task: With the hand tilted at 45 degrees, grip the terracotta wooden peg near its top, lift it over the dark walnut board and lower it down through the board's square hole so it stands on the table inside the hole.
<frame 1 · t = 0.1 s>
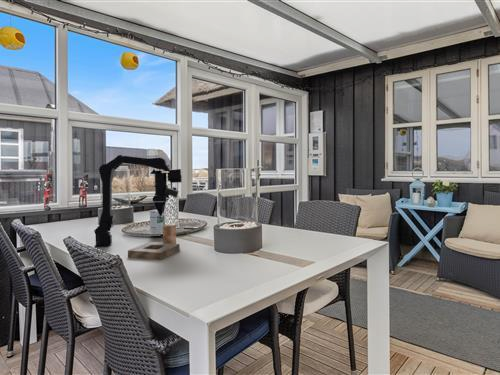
hand: (161, 214, 171), 15 cm above the table, tool pointing down, fingers open, 9 cm apart
walnut hole board: (154, 253, 151), on the table
syrup box: (157, 236, 189), on the table
terracotta peg: (169, 245, 166), on the table
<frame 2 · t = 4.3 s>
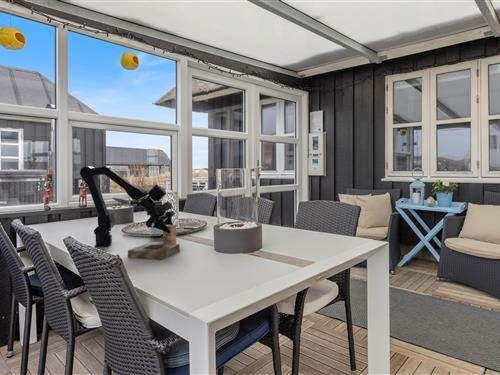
hand: (172, 231, 165), 7 cm above the table, tool tilted 45°, fingers closed on terracotta peg, 5 cm apart
terracotta peg: (169, 245, 166), on the table, touching gripper
everything else where it was.
when the fingers open (8 cm above the table, at t = 9.5 s): terracotta peg stays where it is, resting in walnut hole board.
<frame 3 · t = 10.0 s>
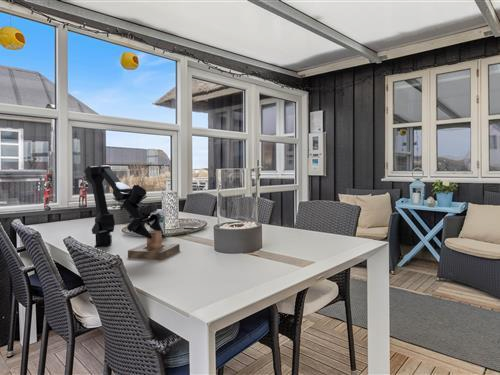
hand: (157, 235, 150), 8 cm above the table, tool tilted 45°, fingers open, 9 cm apart
terracotta peg: (154, 253, 151), resting in walnut hole board
everything else where it was.
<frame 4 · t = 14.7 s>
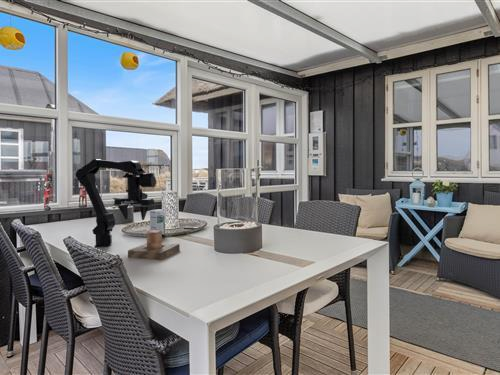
hand: (134, 219, 164), 13 cm above the table, tool pointing down, fingers open, 9 cm apart
nothing on the table moved.
at the end: terracotta peg 0.1 cm off-centre on the walnut hole board, point 0.0 cm above the walnut hole board's base; terracotta peg tilted 0°; the gripper is holding nothing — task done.
